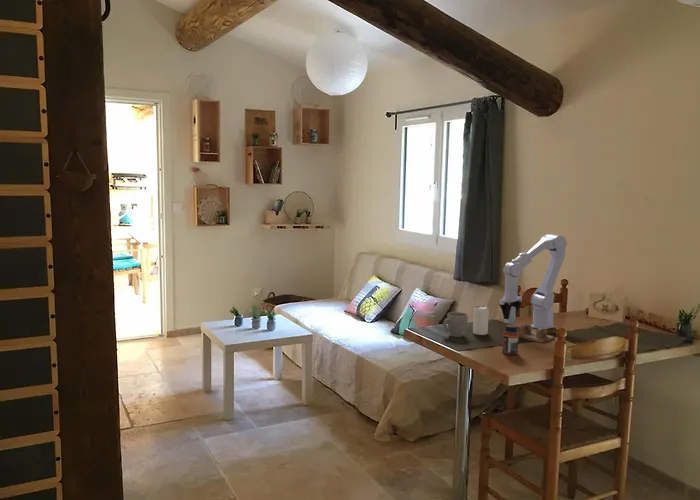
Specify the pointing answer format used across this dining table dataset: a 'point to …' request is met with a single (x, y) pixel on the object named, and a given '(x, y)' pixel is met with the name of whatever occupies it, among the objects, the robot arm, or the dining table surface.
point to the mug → (456, 323)
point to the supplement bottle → (510, 340)
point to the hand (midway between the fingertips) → (509, 318)
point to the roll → (511, 315)
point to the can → (480, 320)
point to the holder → (534, 334)
